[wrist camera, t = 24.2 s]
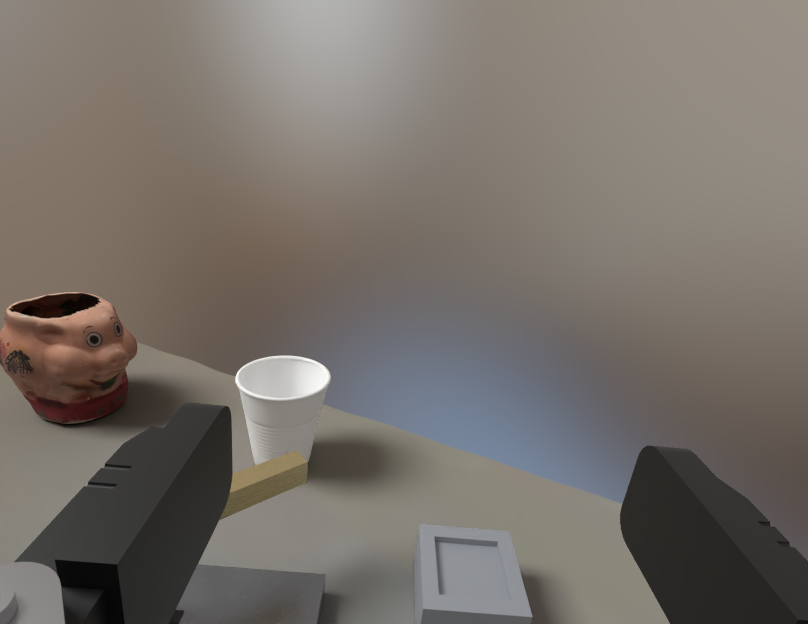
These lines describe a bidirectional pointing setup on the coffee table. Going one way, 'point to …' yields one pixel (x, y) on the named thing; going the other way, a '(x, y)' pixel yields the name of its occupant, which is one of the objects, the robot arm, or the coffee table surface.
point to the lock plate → (250, 597)
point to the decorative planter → (67, 355)
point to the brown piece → (265, 481)
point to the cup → (282, 404)
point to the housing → (467, 577)
